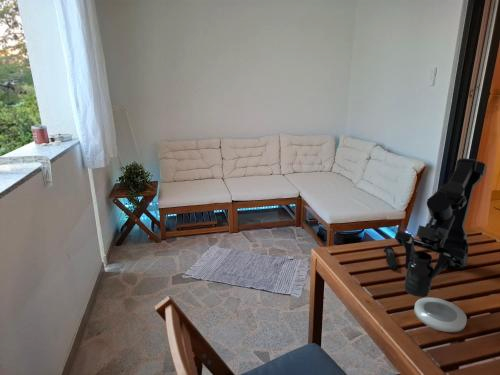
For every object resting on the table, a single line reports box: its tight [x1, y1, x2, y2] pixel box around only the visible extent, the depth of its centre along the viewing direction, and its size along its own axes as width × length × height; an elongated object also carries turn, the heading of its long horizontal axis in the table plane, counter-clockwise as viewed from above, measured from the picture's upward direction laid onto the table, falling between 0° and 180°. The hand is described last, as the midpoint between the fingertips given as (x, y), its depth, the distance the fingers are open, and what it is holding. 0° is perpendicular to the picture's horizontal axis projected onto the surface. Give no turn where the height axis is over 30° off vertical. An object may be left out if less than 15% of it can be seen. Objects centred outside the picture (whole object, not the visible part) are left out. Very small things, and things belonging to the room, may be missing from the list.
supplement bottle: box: [403, 251, 435, 298], centre depth 94 cm, size 7×7×12 cm
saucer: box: [413, 296, 468, 333], centre depth 93 cm, size 13×13×2 cm
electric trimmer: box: [383, 246, 398, 270], centre depth 123 cm, size 4×16×3 cm, turn 164°
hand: (418, 273), depth 93 cm, fingers closed on supplement bottle, 7 cm apart
